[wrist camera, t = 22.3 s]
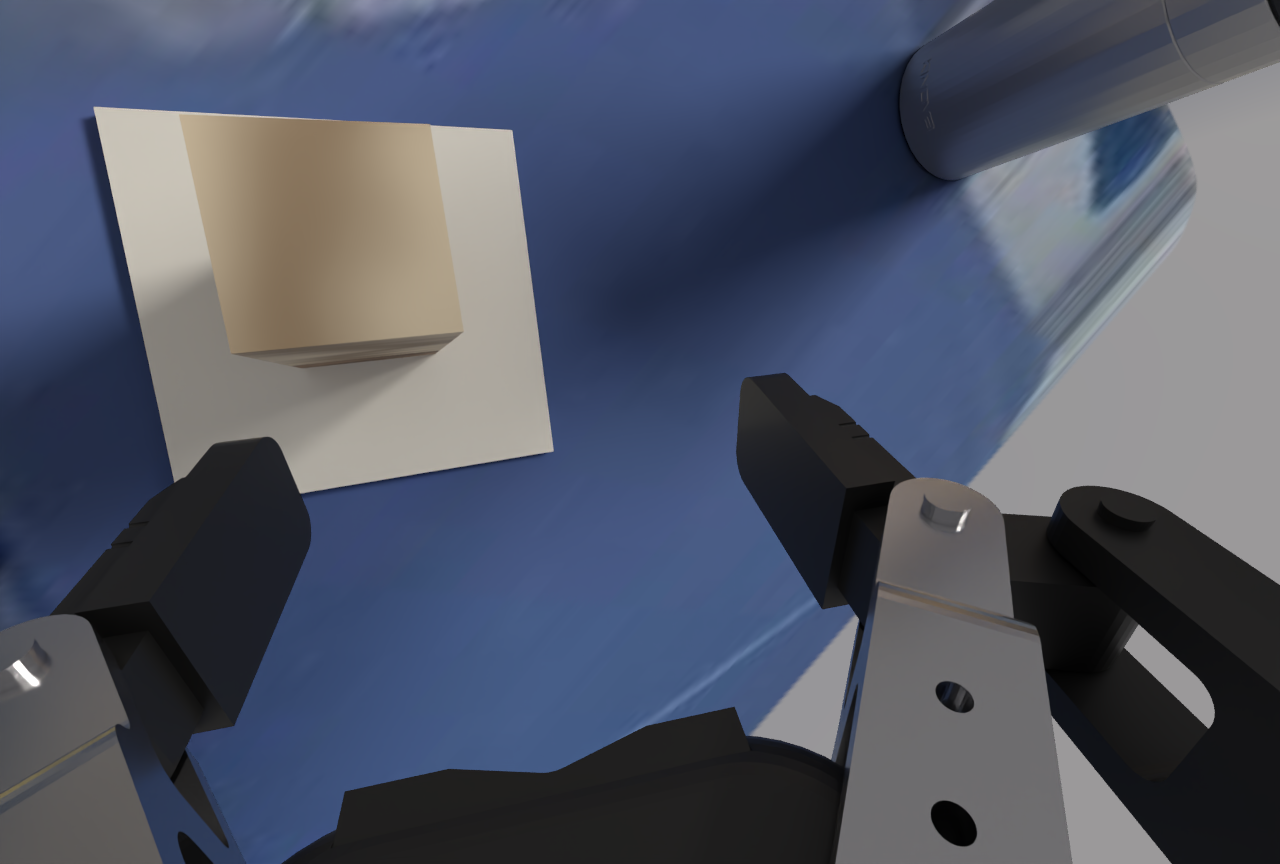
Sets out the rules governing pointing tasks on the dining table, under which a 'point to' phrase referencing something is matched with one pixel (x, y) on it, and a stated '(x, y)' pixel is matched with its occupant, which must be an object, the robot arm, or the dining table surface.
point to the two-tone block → (324, 238)
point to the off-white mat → (345, 393)
